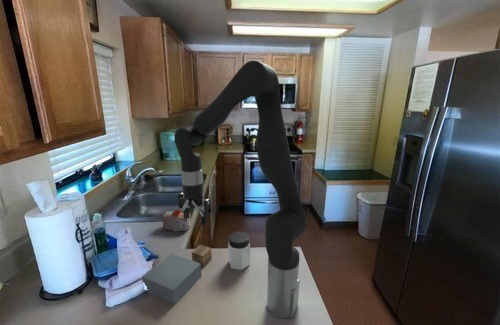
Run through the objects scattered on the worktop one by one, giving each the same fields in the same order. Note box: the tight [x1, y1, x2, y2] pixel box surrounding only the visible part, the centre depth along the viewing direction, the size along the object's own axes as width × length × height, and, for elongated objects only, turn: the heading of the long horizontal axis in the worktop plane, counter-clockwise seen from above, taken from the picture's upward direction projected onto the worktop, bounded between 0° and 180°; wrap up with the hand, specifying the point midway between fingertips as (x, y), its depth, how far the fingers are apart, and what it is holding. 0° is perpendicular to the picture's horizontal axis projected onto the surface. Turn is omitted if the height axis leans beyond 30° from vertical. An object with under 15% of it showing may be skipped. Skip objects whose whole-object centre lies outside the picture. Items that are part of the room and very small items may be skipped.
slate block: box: [141, 252, 202, 306], centre depth 84 cm, size 14×14×6 cm
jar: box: [227, 231, 251, 271], centre depth 93 cm, size 9×8×12 cm
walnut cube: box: [191, 244, 212, 268], centre depth 95 cm, size 6×6×6 cm
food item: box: [161, 209, 192, 232], centre depth 119 cm, size 14×8×10 cm, turn 82°
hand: (195, 221), depth 90 cm, fingers open, 8 cm apart
